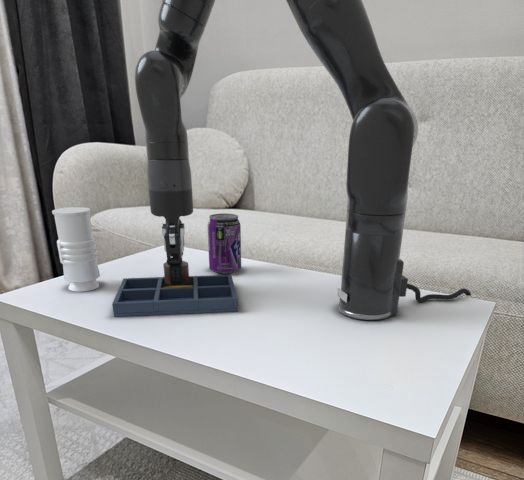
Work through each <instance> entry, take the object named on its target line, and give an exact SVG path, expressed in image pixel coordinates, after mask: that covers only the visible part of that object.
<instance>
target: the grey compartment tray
mask: <svg viewBox="0 0 524 480" xmlns="http://www.w3.org/2000/svg"><path fill="white" fill-rule="evenodd" d="M238 303H239V300H238V295H237V291H236V287H235V283H234V279H233V275H232V274H213V275H211V274H210V275H189V282H188V283H187V284H183V285H168V284H166V283H165V277H164V276H155V277H154V276H153V277H126V278H125V277H124V278H122V281H121V283H120V285H119V287H118V290H117V292H116V293H115V297H114V299H113V301H112V304H111V305H112V311H113V312H112V313H113V317H115V318H117V317H142V316H162V315H163V316H164V315H184V314H185V315H187V314H208V313H210V314H211V313H233V312H234V313H235V312H238V311H239V304H238Z"/></svg>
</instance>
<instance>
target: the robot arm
mask: <svg viewBox="0 0 524 480" xmlns="http://www.w3.org/2000/svg"><path fill="white" fill-rule="evenodd" d="M161 2H162V3H161V4H160V6H159V7H160V8H159V12H158V16H157V23H158V27H159V32H158V36H157V40H156V44H155V47H154V50H149V51H146V52H145V53H143V54H142V55H141V56H140V58H139V59H138V61H137V63H136V66H135V71H134V86H135V93H136V99H137V104H138V107H139V112H140V115H141V119H142V123H143V126H144V133H145V134H144V135H145V137H144V138H145V148H146V149H145V150H146V158H147V160H146V161H147V164H146V169H147V170H146V175H147V176H146V177H147V186H148V197H149V208H150V214H151V215H153V216H154V217H159V218H160V217H161V218H162V217H163V218H164V219H165V223H162V225H161V235H162V236H163V246H164V247H163V248H164V251H165V253H166V262H167V263H168V265H169V269H170V282H171V284H172V285H182V283H183V278H182V263H183V261H184V260H183V256H184V252H185V232H186V231H185V229H186V228H185V223H184V222H182V219H180V218H181V217H187V216H190V215H192V214H193V213H194V199H193V181H192V170H191V165H190V154H189V152H190V151H189V137H188V131H187V126H186V125H185V123H184V121H183V116H182V105H181V99H182V98H183V97H184V95H185V93H186V92H187V90H188V87H189V85H190V82H191V79H192V76H193V72H194V67H195V64H196V61H197V55H198V50H199V46H200V42H201V40H202V37H203V35H204V32H205V30H206V27H207V25H208V21H209V19H210V16H211V13H212V12H213V11H212V10H213V8H214V6H215V3H216V0H162V1H161ZM286 3H287V4H288V8H289V9H290V12H291V14H292V15H293V18H294V20H295V23H296V24H297V26H298V29H299V30H300V32H301V34H302V35H303V37H304V39H305V40H306V42H307V44H308V45H309V47H310V49H311V50H312V51H313V53H314V54H315V56H316V57H317V58H318V60H319V61H320V63H321V64H322V66H323V67H324V68H325V70H326V71H327V73H328V74H329V75H330V76H331V78H332V79H333V81H334V82H335V83H336V85H337V87H338V89H339V90H340V91H339V92H341V95H342V96H343V98H344V101H345V104H346V106H347V108H348V110H349V112H350V116H351V119H352V123H351V127H350V131H349V136H348V137H349V138H348V149H347V166H346V167H347V168H346V181H345V182H346V183H345V184H346V185H345V186H346V190H345V191H346V195H347V204H346V205H347V207H346V219H345V231H344V244H343V255H342V267H341V269H342V270H341V279H340V280H341V281H340V288H339V287H337V292H336V293H337V294H336V296H337V297H338V298H339V302H338V303H339V304H338V311H339V312H340V313H341V314H343V315H344V316H347V317H348V318H351V319H352V318H353V319H357V320H362V321H378V320H379V321H380V320H385V319H388V318H390V317H395V316H396V317H397V315H398V309H399V302H400V301H399V300H400V298H401V297H402V298H404V297H406V296H407V290H410V291H412V292H414V294H415V297H414V298H415V301H416V302H418V303H424V302H426V301H429V300H444V301H445V300H453V299H456V298H458V297H460V296H461V295H463V294H464V295H465V296H466V297H467V296H468V297H471V296H472V293H471V291H470V290H468V289H467V288H461V289H460V288H459V289H458V290H457V291H455V292H453V293H451V294H437V293H436V294H435V293H430V294H426V295H424V296H421V290H420V289H419V288H418V287H417V286H415V285H414V284H411V283H408V281H409V278H407V277H406V276H405V275H403V273H404V272H403V271H404V265H405V264H404V263H405V262H404V261H403V259H401V258H400V257H401V251H402V250H401V249H402V243H403V236H404V235H403V234H404V226H405V220H406V219H405V218H406V211H407V206H408V200H409V199H408V197H409V195H408V194H409V193H408V191H409V179H410V171H411V162H412V156H413V155H412V153H413V148H414V146H415V144H416V141H417V137H418V131H419V126H418V119H417V117H416V114H415V113H414V110H413V109H412V108H411V106H410V105H409V104H408V102H407V100H406V99H405V97H404V95H403V94H402V92H401V90H400V89H399V87H398V85H397V84H396V82H395V80H394V78H393V77H392V74H391V72H390V71H389V70H388V69H389V68H388V66H387V65H386V63H385V60H384V59H383V56H382V54H381V51H380V48H379V45H378V42H377V39H376V35H375V33H374V30H373V26H372V23H371V21H370V18H369V15H368V13H367V10H366V7H365V5H364V3H363V0H286Z"/></svg>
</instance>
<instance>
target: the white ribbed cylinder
mask: <svg viewBox="0 0 524 480" xmlns="http://www.w3.org/2000/svg"><path fill="white" fill-rule="evenodd" d="M90 213H91V208H89V207H84V206H83V207H82V206H71V207H69V206H68V207H61V208H60V207H59V208H56V209H53V210H52V211H51V214H52V215H53V216H54V217H53V218H54V222H55V228H56V233H57V238H58V239H57V240H56V247H57V251H58V257H59V262H60V264H61V265H62V270H63V279H64V281H67V282H69V284H68V290H69V291H71V292H80V293H81V292H89V291H93V290H96V289H98V288H99V287H100V284H99V282H98V281H97V279H99V278H100V277H101V274H100V273H101V272H100V269H99V265H98V259H99V258H98V257H99V256H98V255H97V254H98V251H97V249H96V248H97V244H96V243H95V242H96V238H95V237H94V235H93V228H92V222H91V214H90Z"/></svg>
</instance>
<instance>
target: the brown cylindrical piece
mask: <svg viewBox="0 0 524 480" xmlns="http://www.w3.org/2000/svg"><path fill="white" fill-rule="evenodd" d="M162 266H163V277H165V283H166V284H168V285H172V284H171V282H170V269H169V265H168V263H167V261H166V262H164V263H163V265H162ZM189 276H190V268H189V262H188V261H185V260H183V263H182V278H183V283H182V285H183V284H187V283H188V282H189Z"/></svg>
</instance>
